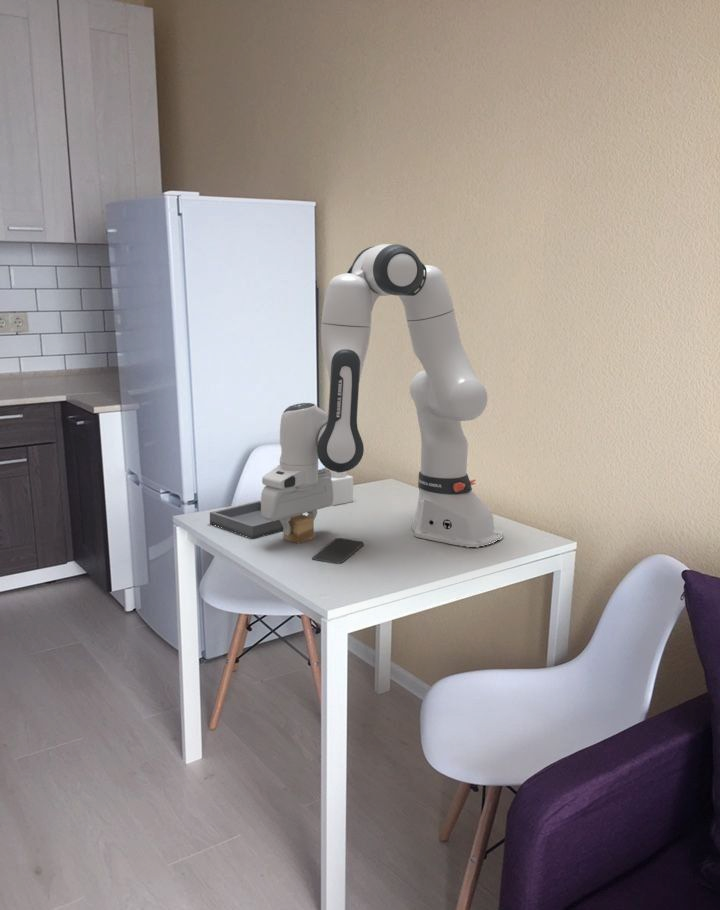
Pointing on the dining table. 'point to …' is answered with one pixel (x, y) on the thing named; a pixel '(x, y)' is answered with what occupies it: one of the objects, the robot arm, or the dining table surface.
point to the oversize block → (300, 528)
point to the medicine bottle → (341, 487)
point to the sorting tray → (245, 520)
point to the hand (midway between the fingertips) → (298, 531)
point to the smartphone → (338, 551)
